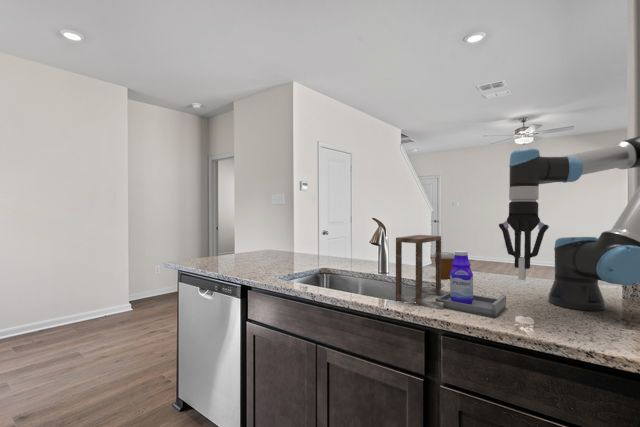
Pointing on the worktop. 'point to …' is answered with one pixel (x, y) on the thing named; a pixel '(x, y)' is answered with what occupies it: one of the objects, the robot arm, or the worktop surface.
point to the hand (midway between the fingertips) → (522, 279)
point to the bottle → (461, 279)
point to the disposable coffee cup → (446, 264)
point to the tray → (476, 305)
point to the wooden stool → (419, 271)
